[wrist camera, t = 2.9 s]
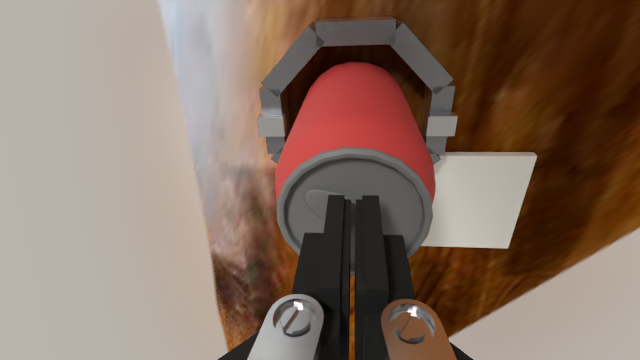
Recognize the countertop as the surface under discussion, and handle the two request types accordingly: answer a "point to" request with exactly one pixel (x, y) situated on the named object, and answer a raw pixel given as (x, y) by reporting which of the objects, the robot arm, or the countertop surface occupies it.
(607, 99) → the countertop surface
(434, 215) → the plate
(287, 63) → the collar
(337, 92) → the beer can
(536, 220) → the countertop surface
